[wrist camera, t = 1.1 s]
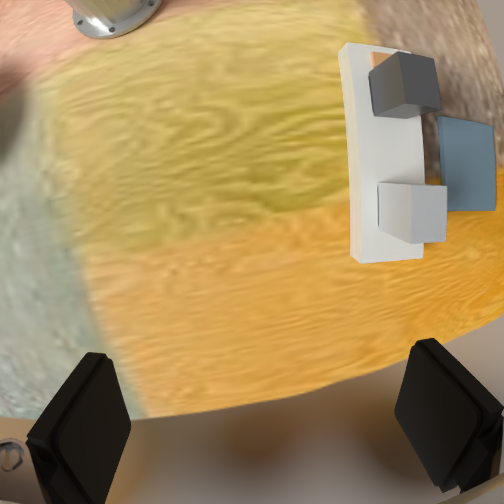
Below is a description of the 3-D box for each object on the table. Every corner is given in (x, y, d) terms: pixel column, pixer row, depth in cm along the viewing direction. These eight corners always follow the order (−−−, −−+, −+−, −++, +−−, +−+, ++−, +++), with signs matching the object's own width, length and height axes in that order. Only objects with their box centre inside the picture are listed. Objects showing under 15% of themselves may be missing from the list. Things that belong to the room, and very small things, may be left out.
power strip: (337, 53, 30) (348, 40, 26) (397, 60, 30) (413, 50, 26) (350, 255, 35) (362, 265, 32) (408, 250, 36) (425, 259, 32)
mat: (437, 117, 32) (441, 116, 31) (488, 126, 32) (492, 125, 31) (441, 209, 35) (445, 210, 34) (490, 209, 35) (495, 210, 34)
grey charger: (372, 182, 31) (411, 185, 23) (404, 182, 32) (447, 186, 23) (373, 227, 33) (410, 244, 24) (404, 226, 33) (445, 241, 25)
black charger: (363, 75, 29) (397, 51, 21) (395, 79, 29) (433, 58, 21) (368, 118, 30) (405, 103, 22) (400, 120, 30) (441, 109, 22)
